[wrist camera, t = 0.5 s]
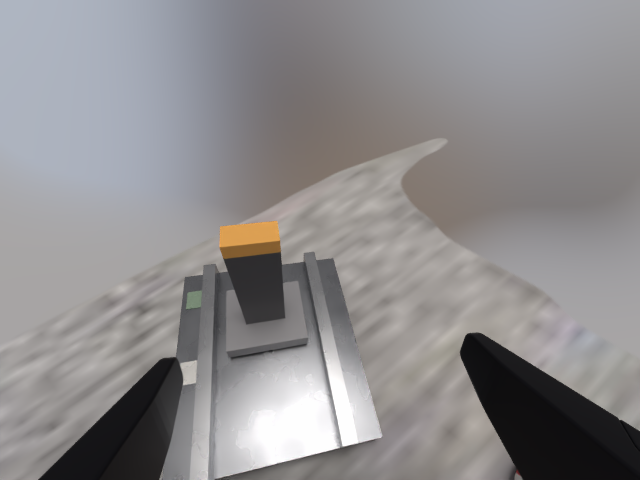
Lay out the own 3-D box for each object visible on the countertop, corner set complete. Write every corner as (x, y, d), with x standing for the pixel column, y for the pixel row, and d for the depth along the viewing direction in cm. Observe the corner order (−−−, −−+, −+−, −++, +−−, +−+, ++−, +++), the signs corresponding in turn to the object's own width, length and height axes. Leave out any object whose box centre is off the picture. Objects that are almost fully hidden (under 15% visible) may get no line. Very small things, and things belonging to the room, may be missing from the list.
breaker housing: (376, 439, 21) (388, 435, 18) (172, 490, 18) (150, 494, 15) (331, 269, 30) (334, 249, 27) (191, 287, 27) (179, 268, 24)
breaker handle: (307, 343, 22) (315, 265, 14) (229, 357, 21) (184, 282, 13) (298, 288, 25) (299, 196, 17) (229, 298, 24) (192, 205, 16)
